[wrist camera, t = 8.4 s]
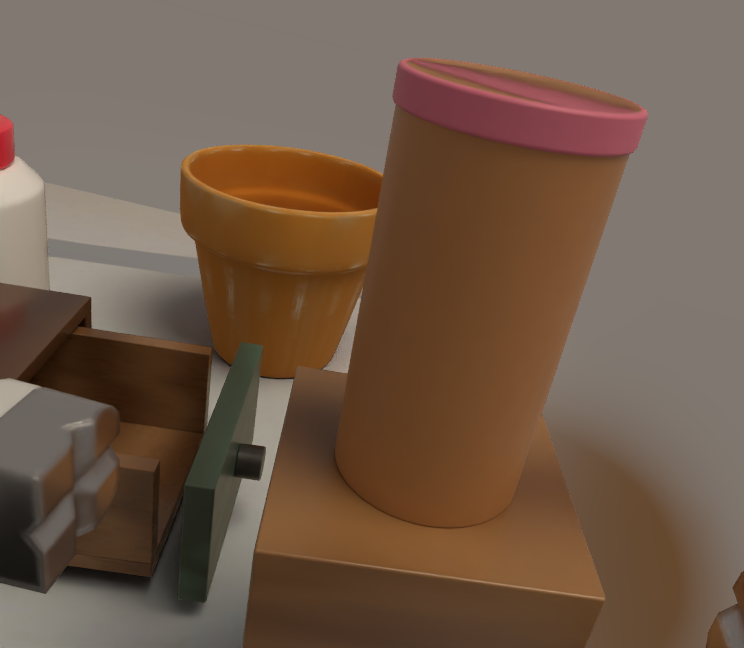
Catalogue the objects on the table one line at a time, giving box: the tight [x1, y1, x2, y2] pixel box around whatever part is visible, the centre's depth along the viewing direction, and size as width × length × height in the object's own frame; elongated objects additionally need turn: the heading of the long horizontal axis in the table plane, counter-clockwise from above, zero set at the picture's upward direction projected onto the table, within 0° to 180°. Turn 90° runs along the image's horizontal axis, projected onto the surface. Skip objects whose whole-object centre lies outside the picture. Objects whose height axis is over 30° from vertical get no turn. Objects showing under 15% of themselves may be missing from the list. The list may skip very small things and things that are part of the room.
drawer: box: [28, 326, 266, 603], centre depth 32 cm, size 15×11×6 cm
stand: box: [242, 366, 606, 648], centre depth 22 cm, size 8×8×14 cm
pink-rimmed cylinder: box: [335, 58, 647, 528], centre depth 17 cm, size 5×5×10 cm
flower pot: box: [180, 145, 383, 378], centre depth 48 cm, size 14×14×13 cm
